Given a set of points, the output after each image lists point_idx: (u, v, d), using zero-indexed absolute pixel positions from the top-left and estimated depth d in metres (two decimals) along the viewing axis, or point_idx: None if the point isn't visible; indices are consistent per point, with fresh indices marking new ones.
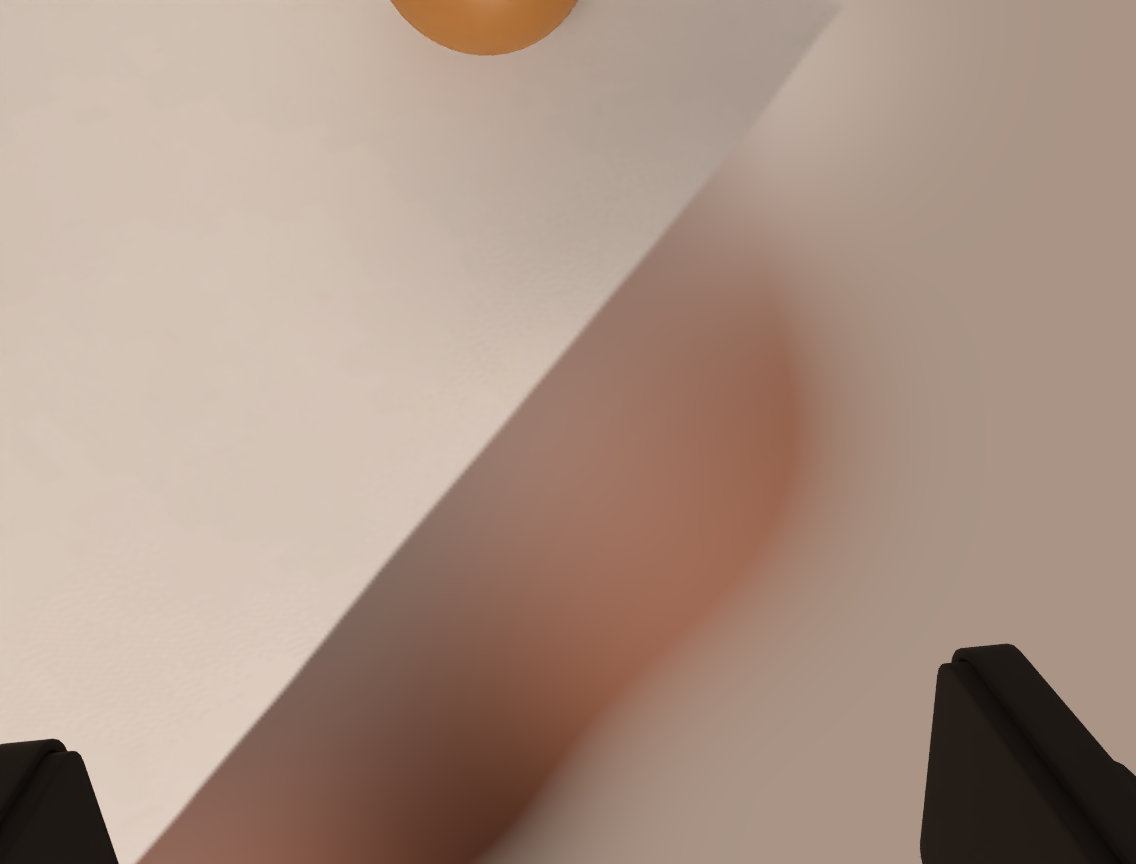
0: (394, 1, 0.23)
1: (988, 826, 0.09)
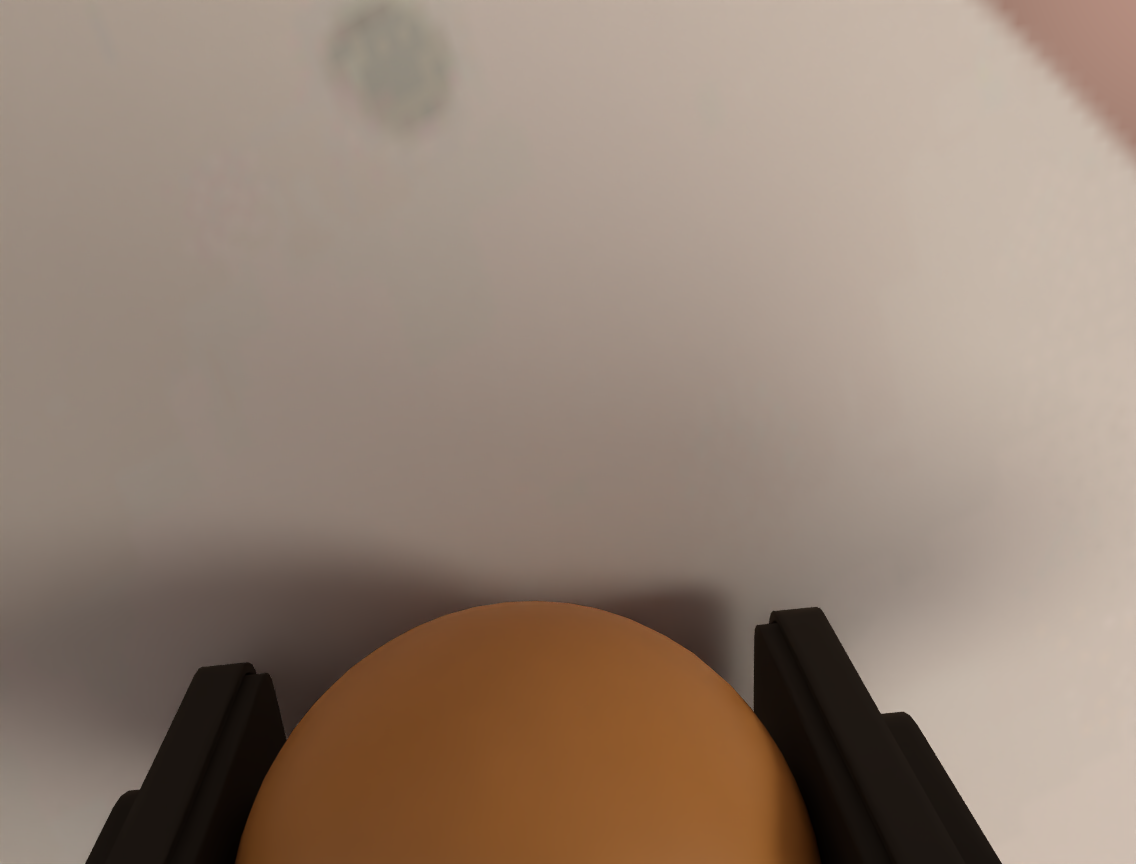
0: None
1: None
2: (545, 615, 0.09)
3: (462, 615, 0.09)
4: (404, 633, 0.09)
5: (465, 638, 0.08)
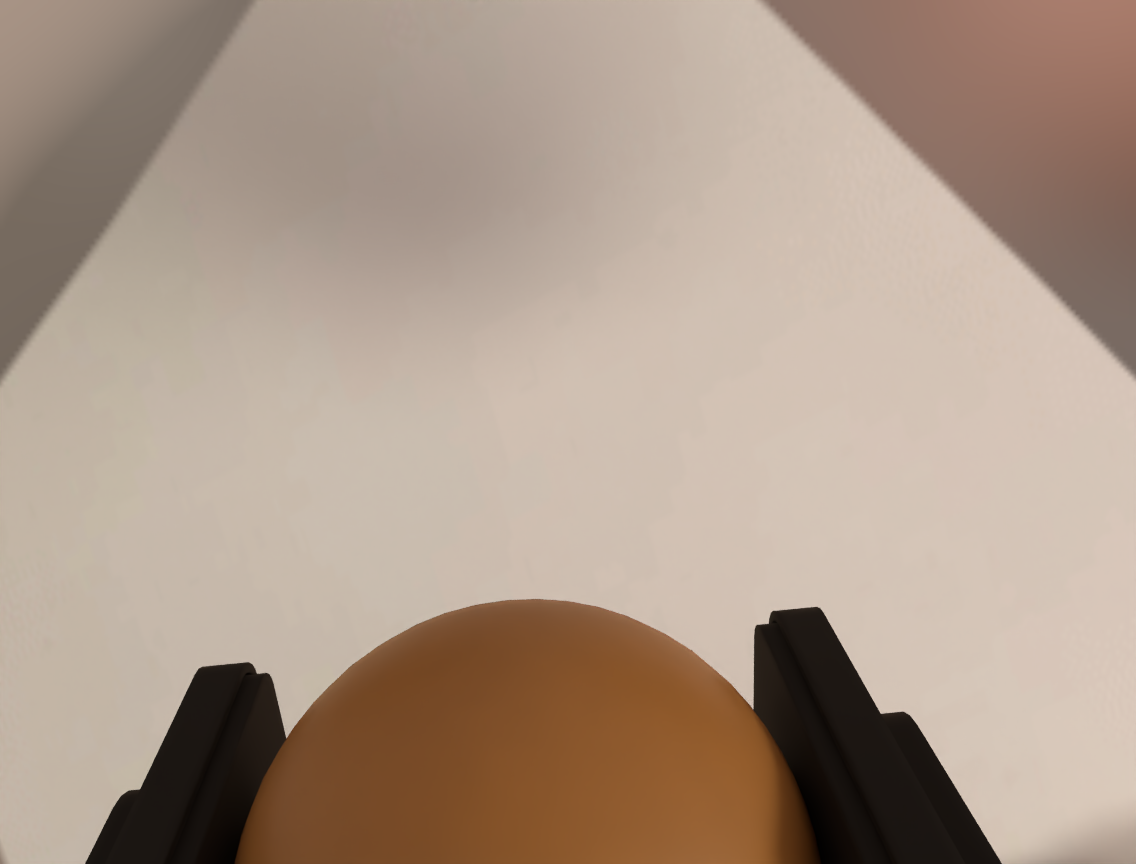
0: None
1: None
2: (544, 613, 0.09)
3: (462, 613, 0.09)
4: (404, 631, 0.09)
5: (465, 637, 0.08)
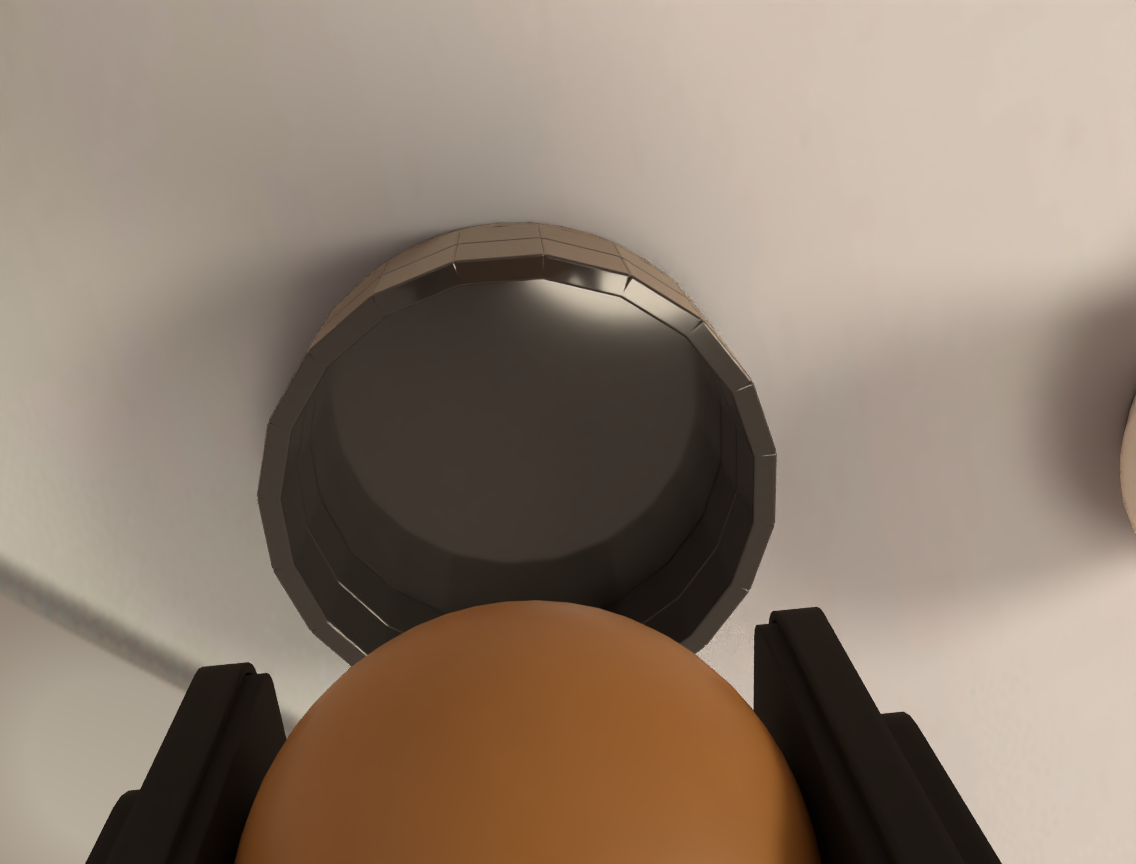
0: None
1: None
2: (544, 614, 0.09)
3: (462, 614, 0.09)
4: (404, 632, 0.09)
5: (465, 637, 0.08)
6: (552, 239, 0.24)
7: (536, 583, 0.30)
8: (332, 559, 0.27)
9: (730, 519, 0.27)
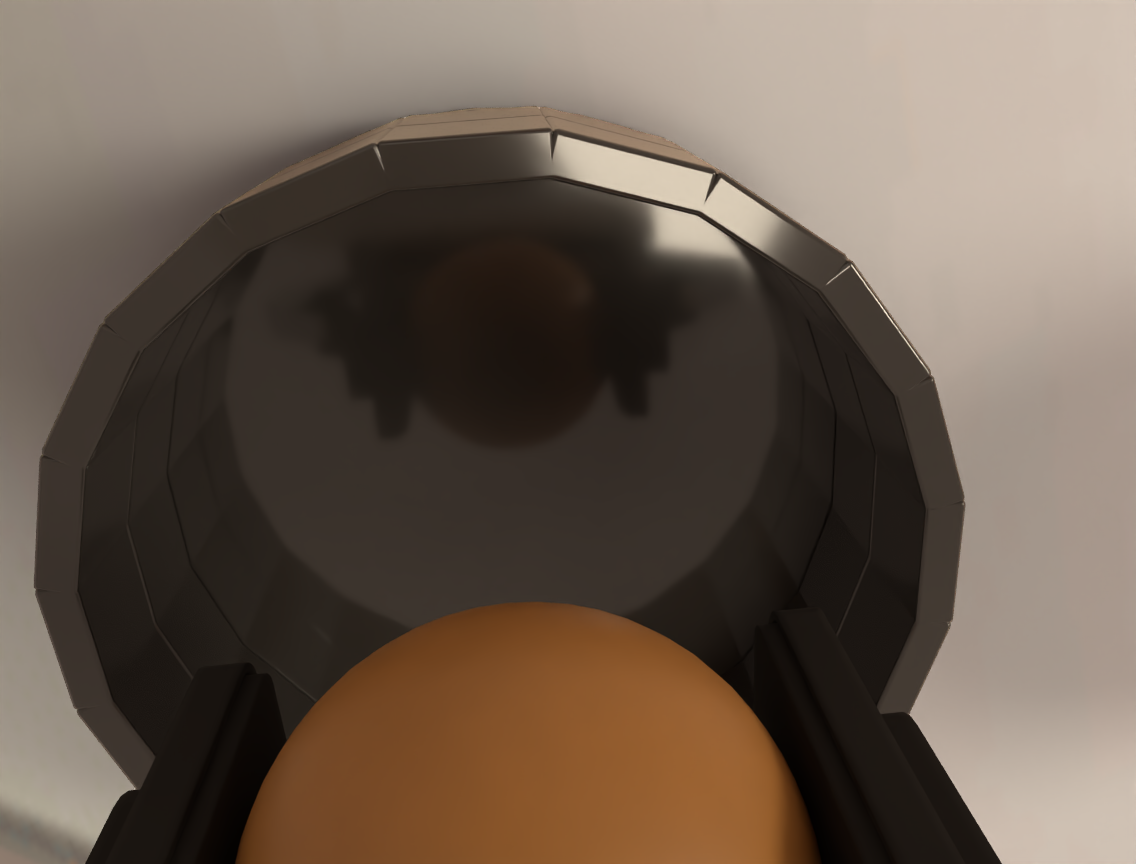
0: None
1: None
2: (545, 615, 0.09)
3: (462, 616, 0.09)
4: (404, 634, 0.09)
5: (464, 640, 0.08)
6: (566, 119, 0.13)
7: None
8: None
9: (860, 604, 0.16)
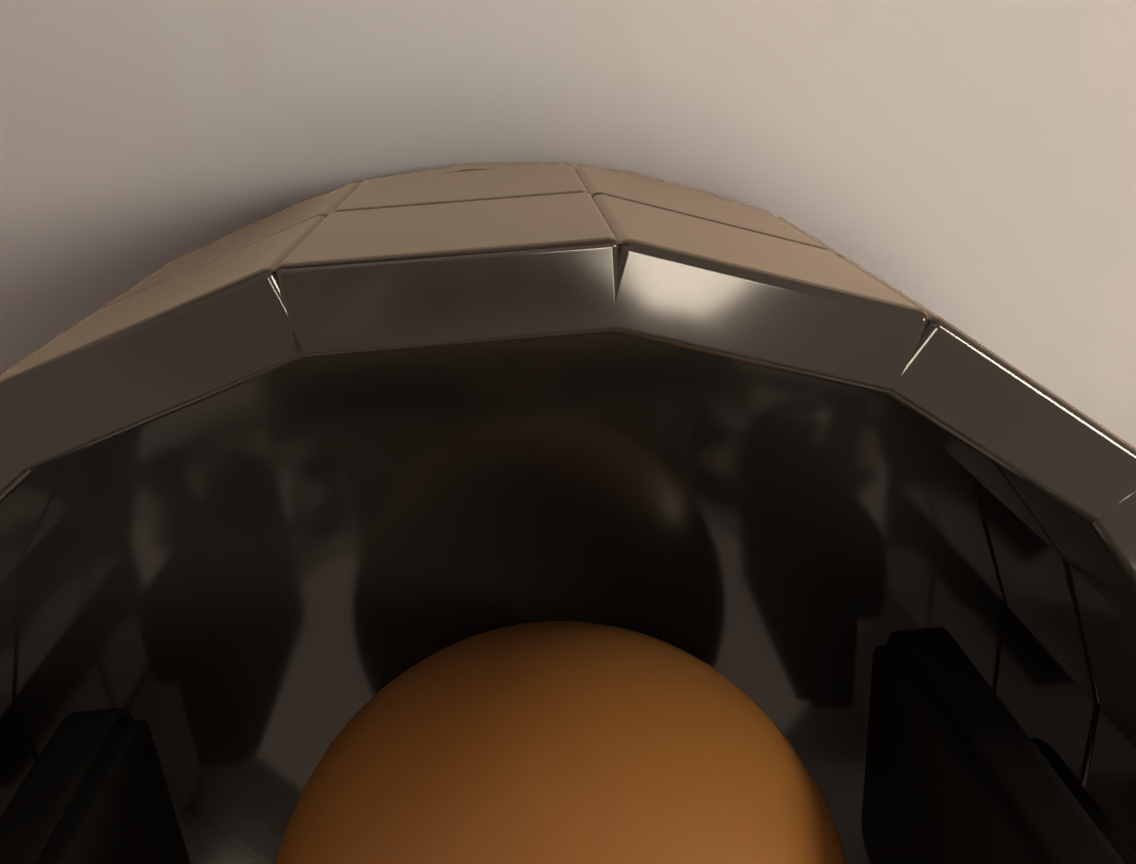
0: None
1: (915, 801, 0.09)
2: (571, 642, 0.09)
3: (484, 644, 0.09)
4: (423, 663, 0.09)
5: (496, 673, 0.08)
6: (626, 198, 0.08)
7: None
8: None
9: None
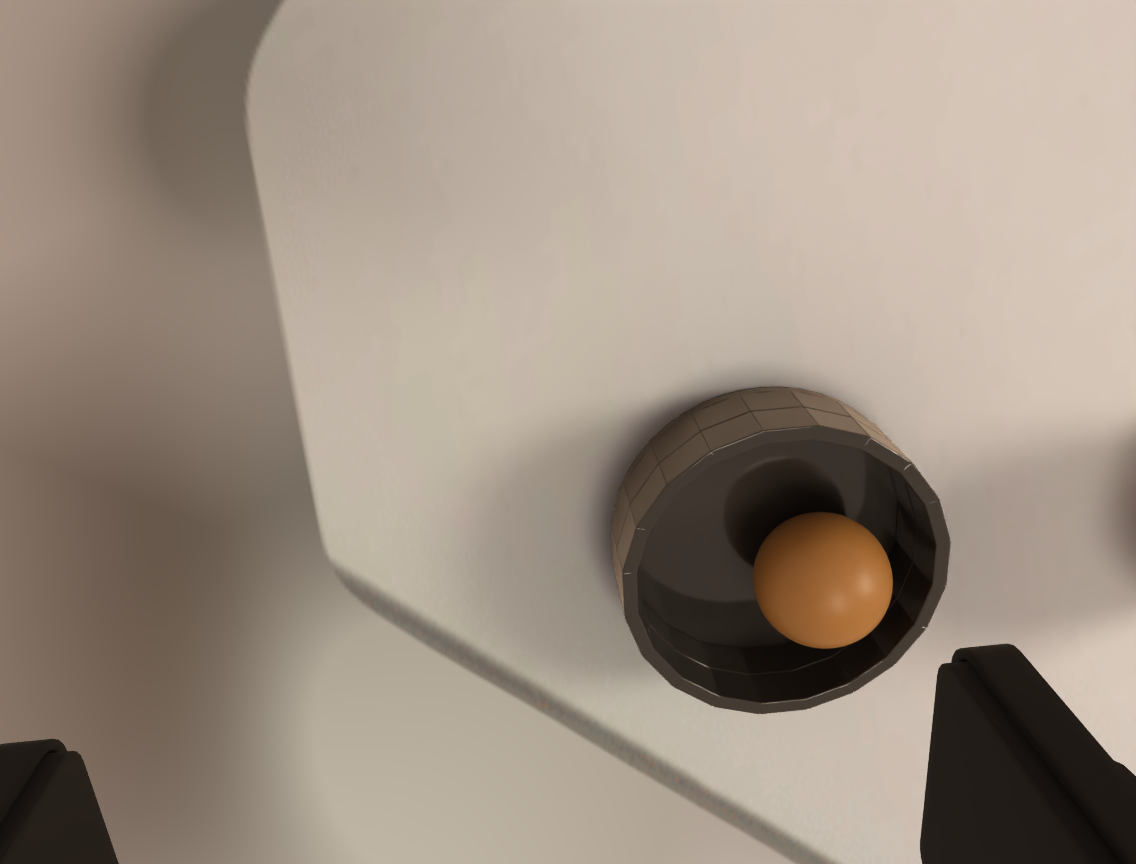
0: None
1: (988, 826, 0.09)
2: (827, 519, 0.38)
3: (808, 525, 0.38)
4: (793, 534, 0.38)
5: (824, 530, 0.37)
6: (809, 406, 0.37)
7: (763, 620, 0.43)
8: (642, 606, 0.40)
9: (909, 580, 0.40)
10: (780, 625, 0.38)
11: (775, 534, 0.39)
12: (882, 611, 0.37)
